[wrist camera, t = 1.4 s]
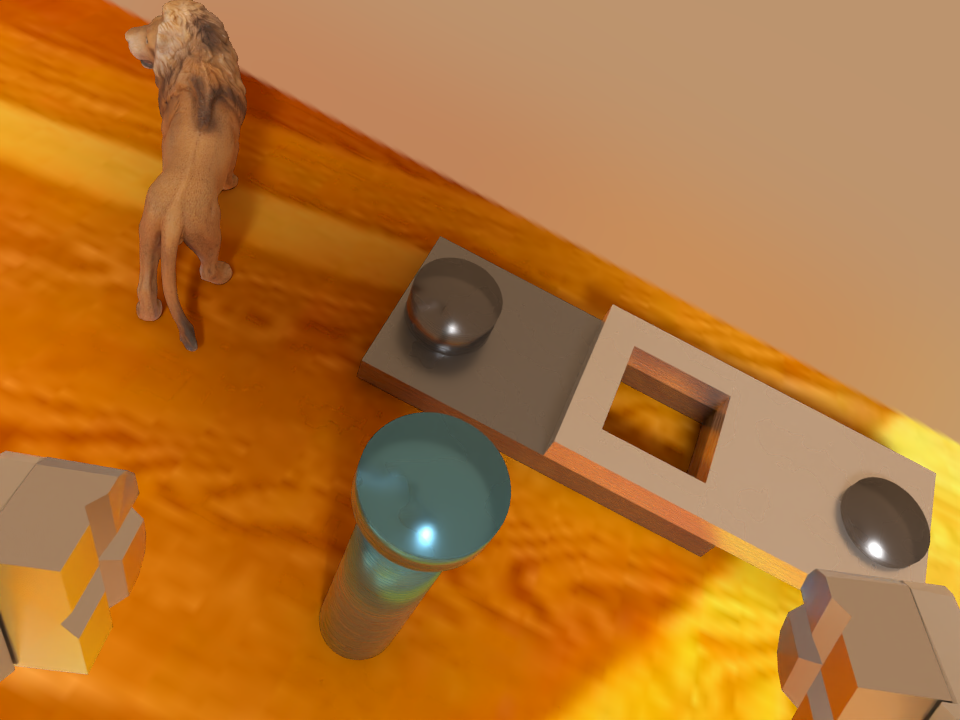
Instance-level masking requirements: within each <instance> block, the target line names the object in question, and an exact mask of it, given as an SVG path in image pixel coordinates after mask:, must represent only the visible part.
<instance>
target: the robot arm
mask: <svg viewBox="0 0 960 720" xmlns="http://www.w3.org/2000/svg"><path fill="white" fill-rule="evenodd" d="M138 495H139V490H138V486H137V481H136V477H135V474H134V473H132V472H129V471H127V470H121V469H115V468H109V467H103V466H97V465H91V464H85V463H80V462H74V461H68V460H62V459H56V458H50V457H40V456H34V455H28V454H22V453H16V452H10V451H5V452H3V453H1V454H0V681H2V680H3V679H4V678H5V677H7V676H8V675H9V674H11V673H12V672H13V671H14V670H15V668H14V666H21V667H29V668H38V669H46V670H55V671H63V672H72V673H80V674H88V673H89V672H90V670H91V668H92V666H93V664H94V662H95V660H96V658H97V656H98V654H99V652H100V650H101V648H102V646H103V645H104V643H105V641H106V639H107V637H108V635H109V633H110V631H111V629H112V627H113V624H112V619H111V615H110V610H109V608H110V607H112V606H113V605H115V604H116V603H118V602H119V601H121V600H122V599H124V598H125V597H127V596H128V595H129V594H130V592H131V590H132V588H133V586H134V584H135V582H136V580H137V578H138V575H139V572H140V568H141V565H142V561H143V557H144V554H145V543H146V531H145V524H144V519H143V518H142V517H141V516H140V515H139V514H138V513H137V512H136V511H135V510H134V509H133V508H132V506H133V504H134V502H135V500H136V498H137V496H138ZM801 593H802V597H803V601H804V604H803V605H801V606H799V607H797V608H796V609H794V610H792V611H790V612H788V615H787V617H786V619H785V621H784V624H783V626H782V628H781V630H780V636H779V643H778V650H777V659H778V673H779V678H780V683H781V688H782V691H783V692H784V693H785V694H786V695H787V696H788V698H789V699H790V700H791V701H792V702H793V703H794V704H795V706H796V707H797V708H798V709H797V711H796V713H795V715H794V716H793V718H792V720H960V609H959V607H958V605H957V602H956V600H955V598H954V596H953V594H952V593H951V592H950V591H949V590H948V589H947V588H946V587H945V586H940V585H933V584H926V583H918V582H911V581H904V580H901V581H898V580H896V579H891V578H884V577H876V576H868V575H861V574H853V573H846V572H838V571H831V570H823V569H815V570H813V571H812V572H811V573H809V574H808V575H807V577H806V579H805V581H804V583H803V585H802V587H801Z"/></svg>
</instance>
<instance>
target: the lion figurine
mask: <svg viewBox="0 0 960 720" xmlns="http://www.w3.org/2000/svg"><path fill="white" fill-rule="evenodd" d="M125 38H126V40H127V41H128V43H129V49H130V51H131V53H132V54H133V55H134V56H135V57H136V58H137V59H139V60H141V63H142V65H143V66H144V67H145V68H148V69H153V70H154V73H155V83H156V85H157V87H158V88H159V98H158V101H159V109H160V114H161V117H162V119H163V121H162V127H161V130H162V134H163V141H162V154H163V155H162V156H163V172H162V173H161V174H160V175H159V176H158V178H157V179H156V180H155V181H154V183H153V184H152V185H151V186H150V188H149V190H148V192H147V196H146V200H145V207H144V212H143V216H142V219H141V221H140V225H139V237H140V277H139V284H138V288H137V295H138V298H139V302H138V303H137V307H136V308H137V315H138V317H139V318H140V319H142V320H145V321H154V320H156V319H158V318H159V317H160V315H161V313H162V303H161V301H160V300H159V299H157V290H158V288H157V267H158V263H159V260H160V258H161V272H162V283H163V292H164V296H165V299H166V302H167V305H168V307H169V310H170V312H171V314H172V316H173V319H174V320H175V322H176V324H177V326H178V328H179V332H180V341H182V342H183V344H184V346H185V348H186V349H187V350H189V351H195V350H197V341H196V338H195V332H194V328H193V325H192V324H191V323H190V322H189V321H188V319H187V318H186V316H185V314H184V312H183V310H182V308H181V305H180V302H179V299H178V294H177V286H176V272H175V267H176V257H177V249H178V245H180V244H181V243H182V242H183V241H184V242H185V244H186V245H187V246H188V247H189V248H190V249H191V250H192V251H193V252H194V253H195V254H196V255H197V256H198V257H199V259H200V261H201V266H200V274H201V278H202V279H203V280H205V281H209V282H212V283H214V284H223V283H226V282H227V281H228V280H230V278H231V277H232V274H233V272H232V269H231V267H230V265H229V264H228V263H225V262H223V261H218V255H219V250H220V245H221V231H220V219H221V212H220V207H219V204H218V195H219V194H220V192H221V191H222V189H223V190H228V189H231V188H234V187H235V186H236V185H237V183H238V177H237V176H236V175H235V174H234V173H233V171H234V168H235V164H236V159H237V155H238V151H239V142H238V139H239V134H240V126H241V125H242V123H243V120H244V118H245V115H246V110H247V108H246V107H247V101H246V97H245V94H246V88H245V86H244V85H243V82H242V80H241V76H240V71H239V66H238V63H237V61H238V56H237V54H236V52H235V50H234V49H233V47H232V44H231V42H230V41H229V37H228V34H227V32H226V31H225V30H224V25H223V23H222V22H221V21H220V20H219V19H218V17H216V16H215V15H214V14H213V13H211V12H209V11H208V10H207V9H206V8H205V7H204V5H202V4H201V3H198V2H194V1H193V0H173V1H169V2H168V3H165V4H164V5H163V8H162V16H157V17H155V18H154V19H153V20H152V22H151V23H150V24H148V25H144V26H141V27H134V28H131V29H130V30H128V31H127V32H126V34H125Z"/></svg>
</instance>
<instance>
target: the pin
mask: <svg viewBox="0 0 960 720" xmlns="http://www.w3.org/2000/svg"><path fill="white" fill-rule="evenodd" d="M510 498H511V485H510V478H509V474H508V470H507V467H506V465H505V462H504V460H503V458H502V456H501V455H500V453H499V451H498V450H497V448H496V447H495V446H494V444H493V443H492V442H491V441H490V440H489V439H488V438H487V437H486V436H485V435H484V434H483V433H482V432H481V431H480V430H478V429H477V428H475V427H474V426H472V425H471V424H469V423H467V422H465V421H463V420H461V419H459V418H456V417H453V416H450V415H446V414H441V413H434V412H422V413H413V414H409V415H405V416H402V417H399V418H397V419H395V420H393V421H391V422H389V423H388V424H386V425H385V426H383V427H382V428H381V429H380V430H379V431H378V432H376V433H375V434H374V436H373V437H372V438H371V439H370V441H369V442H368V444H367V446H366V447H365V449H364V451H363V454H362V456H361V459H360V461H359V464H358V467H357V470H356V472H355V475H354V479H353V483H352V490H351V502H352V508H353V513H354V516H355V519H356V522H357V524H356V526H355V528H354V531H353V533H352V535H351V538H350V540H349V543H348V545H347V547H346V550H345V552H344V555H343V557H342V559H341V562H340V564H339V567H338V569H337V571H336V574H335V576H334V579H333V581H332V583H331V586H330V588H329V590H328V593H327V595H326V598H325V600H324V602H323V605H322V607H321V611H320V616H319V625H320V630H321V634H322V636H323V638H324V640H325V642H326V643H327V645H328V646H329V647H330V648H331V649H332V650H333V651H334V652H336V653H337V654H339V655H340V656H342V657H345V658H348V659H353V660H364V659H369V658H372V657H374V656H376V655H378V654H379V653H381V652H382V651H383V650H385V649H386V648H387V646H388V645H389V644H390V643H391V641H392V640H393V639H394V637H395V636H396V634H397V633H398V632H399V630H400V629H401V627H402V626H403V625H404V623H405V622H406V621H407V619H408V618H409V616H410V615H411V614H412V612H413V611H414V609H415V608H416V607H417V605H418V604H419V603H420V601H421V600H422V598H423V597H424V596H425V594H426V593H427V591H428V590H429V589H430V587H431V586H432V585H433V583H434V582H435V580H436V579H437V578H438V576H439V575H440V573H441V572H442V571H446V570H450V569H454V568H457V567H459V566H461V565H463V564H466V563H467V562H469V561H470V560H472V559H473V558H475V557H476V556H477V555H478V554H479V553H480V552H481V551H482V550H483V549H484V548H485V547H486V545H487V544H488V543H489V542H490V540H491V539H492V538H493V537H494V535H495V534H496V533H497V531H498V530H499V529H500V527H501V525H502V524H503V522H504V520H505V518H506V515H507V513H508V509H509V506H510Z"/></svg>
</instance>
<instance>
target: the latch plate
mask: <svg viewBox="0 0 960 720" xmlns="http://www.w3.org/2000/svg"><path fill="white" fill-rule="evenodd" d="M357 377H359V378H361V379H362V380H364V381H366V382H368V383H370V384H372V385H374V386H376V387H378V388H380V389H382V390H383V391H385V392H387V393H389V394H391V395H393V396H395V397H397V398H399V399H401V400H403V401H404V402H406V403H408V404H410V405H412V406H414V407H416V408H418V409H420V410H422V411H423V412H434V413H441V414H446V415H450V416H453V417H456V418H459V419H461V420H463V421H465V422H467V423H469V424H471V425H472V426H474V427H475V428H477V429H478V430H480V431H481V432H482V433H483V434H484V435H485V436H486V437H487V438H488V439H489V440H490V441H491V442H492V443H493V444H494V446H495V447H496V448H497V450H498V451H500V452H502V453H504V454H506V455H507V456H509V457H511V458H513V459H515V460H517V461H519V462H521V463H523V464H525V465H527V466H528V467H530V468H532V469H534V470H536V471H538V472H540V473H542V474H544V475H546V476H548V477H549V478H551V479H553V480H555V481H557V482H559V483H561V484H563V485H565V486H567V487H569V488H570V489H572V490H574V491H576V492H578V493H580V494H582V495H584V496H586V497H588V498H590V499H591V500H593V501H595V502H597V503H599V504H601V505H603V506H605V507H607V508H609V509H610V510H612V511H614V512H616V513H618V514H620V515H622V516H624V517H626V518H628V519H630V520H631V521H633V522H635V523H637V524H639V525H641V526H643V527H645V528H647V529H649V530H651V531H652V532H654V533H656V534H658V535H660V536H662V537H664V538H666V539H668V540H670V541H672V542H673V543H675V544H677V545H679V546H681V547H683V548H685V549H687V550H689V551H691V552H693V553H694V554H696V555H698V556H700V557H701V556H702V555H704V554H705V553H707V552H708V551H709V550H711V549H712V548H714V547H715V546H717V547H719V548H721V549H723V550H725V551H727V552H729V553H730V554H732V555H734V556H736V557H738V558H740V559H742V560H744V561H746V562H748V563H750V564H751V565H753V566H755V567H757V568H759V569H761V570H763V571H765V572H767V573H769V574H771V575H772V576H774V577H776V578H778V579H780V580H782V581H784V582H786V583H788V584H790V585H792V586H793V587H795V588H797V589H799V590H801V587H802V585H803V583H804V581H805V579H806V577H807V575H808V574H809V573H811V572H812V571H813V570H815V569H823V570H831V571H838V572H846V573H853V574H861V575H868V576H876V577H884V578H891V579H896V580H898V581H901V580H904V581H911V582H918V583H925V578H926V568H927V558H928V548H929V545H930V527H931V517H932V507H933V497H934V487H935V477H936V473H934V472H932V471H931V470H929V469H927V468H925V467H923V466H921V465H919V464H917V463H915V462H913V461H911V460H910V459H908V458H906V457H904V456H902V455H900V454H898V453H896V452H894V451H892V450H890V449H889V448H887V447H885V446H883V445H881V444H879V443H877V442H875V441H873V440H871V439H869V438H868V437H866V436H864V435H862V434H860V433H858V432H856V431H854V430H852V429H850V428H848V427H846V426H845V425H843V424H841V423H839V422H837V421H835V420H833V419H831V418H829V417H827V416H825V415H824V414H822V413H820V412H818V411H816V410H814V409H812V408H810V407H808V406H806V405H804V404H803V403H801V402H799V401H797V400H795V399H793V398H791V397H789V396H787V395H785V394H783V393H781V392H780V391H778V390H776V389H774V388H772V387H770V386H768V385H766V384H764V383H762V382H760V381H759V380H757V379H755V378H753V377H751V376H749V375H747V374H745V373H743V372H741V371H739V370H738V369H736V368H734V367H732V366H730V365H728V364H726V363H724V362H722V361H720V360H718V359H716V358H715V357H713V356H711V355H709V354H707V353H705V352H703V351H701V350H699V349H697V348H695V347H694V346H692V345H690V344H688V343H686V342H684V341H682V340H680V339H678V338H676V337H674V336H673V335H671V334H669V333H667V332H665V331H663V330H661V329H659V328H657V327H655V326H653V325H652V324H650V323H648V322H646V321H644V320H642V319H640V318H638V317H636V316H634V315H632V314H630V313H629V312H627V311H625V310H623V309H621V308H619V307H617V306H615V305H612V306H611V308H610V309H609V310H608V312H607V313H606V315H605V316H604V318H603V319H602V321H601V320H600V319H598V318H596V317H594V316H592V315H590V314H588V313H586V312H584V311H582V310H580V309H579V308H577V307H575V306H573V305H571V304H569V303H567V302H565V301H563V300H561V299H559V298H558V297H556V296H554V295H552V294H550V293H548V292H546V291H544V290H542V289H540V288H538V287H537V286H535V285H533V284H531V283H529V282H527V281H525V280H523V279H521V278H519V277H517V276H515V275H514V274H512V273H510V272H508V271H506V270H504V269H502V268H500V267H498V266H496V265H494V264H493V263H491V262H489V261H487V260H485V259H483V258H481V257H479V256H477V255H475V254H473V253H472V252H470V251H468V250H466V249H464V248H462V247H460V246H458V245H456V244H454V243H452V242H451V241H449V240H447V239H445V238H443V237H441V236H440V238H439V239H438V241H437V242H436V244H435V246H434V247H433V249H432V250H431V252H430V253H429V255H428V257H427V258H426V260H425V261H424V263H423V264H422V266H421V268H420V269H419V271H418V272H417V274H416V275H415V277H414V279H413V280H412V282H411V283H410V285H409V286H408V288H407V290H406V291H405V293H404V294H403V296H402V297H401V299H400V301H399V302H398V304H397V305H396V307H395V308H394V310H393V312H392V313H391V315H390V316H389V318H388V320H387V321H386V323H385V324H384V326H383V327H382V329H381V331H380V332H379V334H378V335H377V337H376V338H375V340H374V342H373V343H372V345H371V346H370V348H369V349H368V351H367V353H366V354H365V356H364V357H363V359H362V361H361V364H360V367H359V370H358V374H357ZM620 381H621V382H623V383H625V384H627V385H629V386H631V387H633V388H635V389H636V390H638V391H640V392H642V393H644V394H646V395H648V396H650V397H652V398H654V399H656V400H657V401H659V402H661V403H663V404H665V405H667V406H669V407H671V408H673V409H675V410H677V411H678V412H680V413H682V414H684V415H686V416H688V417H690V418H692V419H694V420H696V421H698V422H699V423H701V424H702V426H701V430H700V433H699V436H698V440H697V443H696V446H695V449H694V453H693V456H692V459H691V462H690V466H689V469H688V472H687V473H685V472H683V471H681V470H679V469H677V468H675V467H673V466H671V465H669V464H667V463H666V462H664V461H662V460H660V459H658V458H656V457H654V456H652V455H650V454H648V453H646V452H645V451H643V450H641V449H639V448H637V447H635V446H633V445H631V444H629V443H627V442H625V441H624V440H622V439H620V438H618V437H616V436H614V435H612V434H610V433H608V432H606V431H604V430H603V429H602V427H603V425H604V422H605V420H606V417H607V415H608V412H609V409H610V407H611V404H612V402H613V399H614V397H615V394H616V391H617V389H618V386H619V384H620Z"/></svg>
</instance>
